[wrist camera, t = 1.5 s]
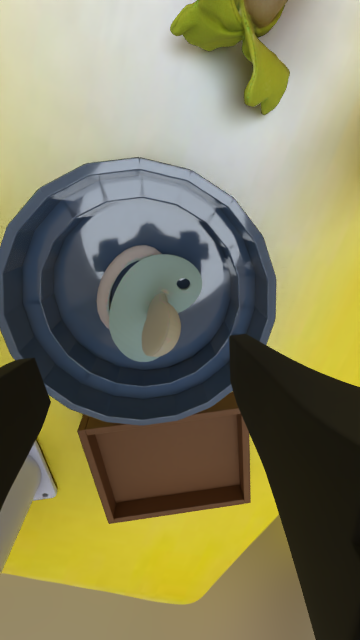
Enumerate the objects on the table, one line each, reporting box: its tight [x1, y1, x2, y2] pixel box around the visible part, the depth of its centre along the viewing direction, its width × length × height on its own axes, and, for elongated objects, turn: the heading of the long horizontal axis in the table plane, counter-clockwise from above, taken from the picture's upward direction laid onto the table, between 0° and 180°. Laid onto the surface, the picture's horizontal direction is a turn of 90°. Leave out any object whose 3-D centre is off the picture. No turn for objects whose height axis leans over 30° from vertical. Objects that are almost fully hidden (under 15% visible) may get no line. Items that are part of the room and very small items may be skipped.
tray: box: [77, 392, 250, 524], centre depth 24 cm, size 13×11×2 cm
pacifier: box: [97, 245, 202, 362], centre depth 16 cm, size 7×6×6 cm
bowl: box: [0, 157, 276, 426], centre depth 17 cm, size 15×15×4 cm
